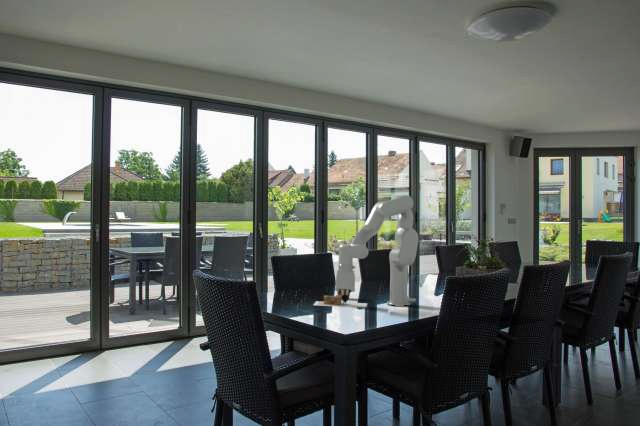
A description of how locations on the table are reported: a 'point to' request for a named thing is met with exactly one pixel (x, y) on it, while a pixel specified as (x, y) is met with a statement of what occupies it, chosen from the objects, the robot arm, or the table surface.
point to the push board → (342, 304)
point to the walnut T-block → (333, 300)
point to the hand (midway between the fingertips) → (344, 302)
